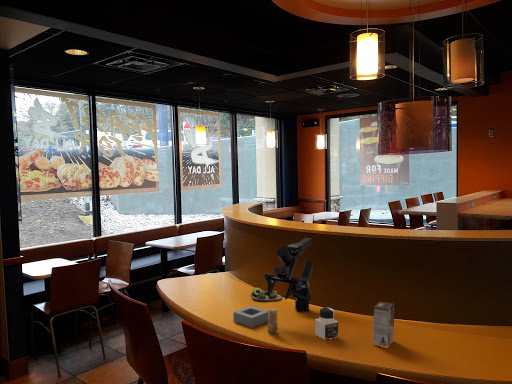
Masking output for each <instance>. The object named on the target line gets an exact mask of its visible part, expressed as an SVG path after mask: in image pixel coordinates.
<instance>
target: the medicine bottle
mask: <svg viewBox="0 0 512 384" xmlns="http://www.w3.org/2000/svg"><path fill="white" fill-rule="evenodd" d="M314 326H315V327H314V329H315V330H314V331H315V333H314V334H315V336H317V337H318V336H319V338H320V337H321V338H320V339H322V338H323V339H324V340H323V339H322V340H323V341H325V340H326V339H329V338H334V337H338V338H339V321H338V320H336V319H335V309H333V308H331V307H323V308H320V309H319V317H318V318H315V325H314ZM334 339H335V338H334ZM326 341H327V340H326Z"/></svg>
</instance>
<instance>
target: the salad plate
mask: <svg viewBox="0 0 512 384" xmlns="http://www.w3.org/2000/svg"><path fill="white" fill-rule="evenodd" d="M276 292H277V290H274V289H273V290H272V292H271V294H270V296H268V290H262V289H261V288H260V287H255V288H253V290H252V292H251V293H250V296H251V299H252V300H253V301H254V302H264V303H266V302H275V301H280V299H282V295H278V294H277V293H276Z"/></svg>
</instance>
